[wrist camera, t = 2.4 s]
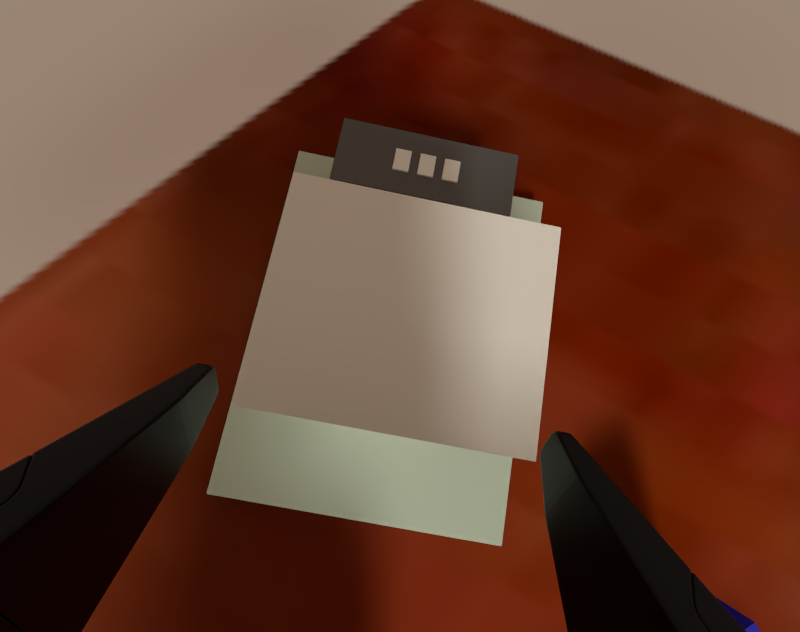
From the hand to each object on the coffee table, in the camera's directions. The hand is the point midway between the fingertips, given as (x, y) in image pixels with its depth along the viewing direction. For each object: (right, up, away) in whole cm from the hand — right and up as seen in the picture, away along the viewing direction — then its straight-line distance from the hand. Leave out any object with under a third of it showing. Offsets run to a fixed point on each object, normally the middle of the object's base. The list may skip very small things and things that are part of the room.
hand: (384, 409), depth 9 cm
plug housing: (0, +1, +9) cm, 9 cm away
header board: (0, +1, +10) cm, 10 cm away
